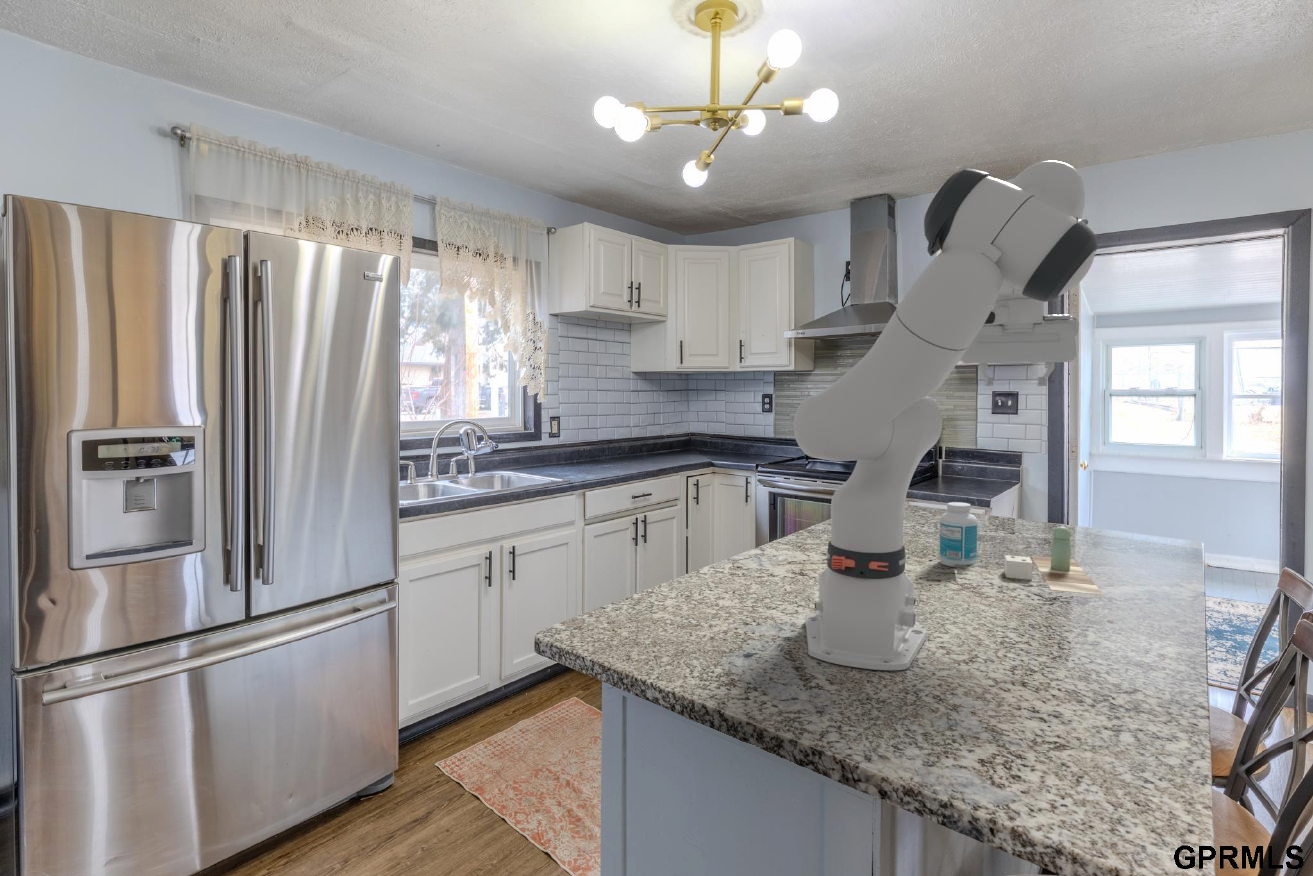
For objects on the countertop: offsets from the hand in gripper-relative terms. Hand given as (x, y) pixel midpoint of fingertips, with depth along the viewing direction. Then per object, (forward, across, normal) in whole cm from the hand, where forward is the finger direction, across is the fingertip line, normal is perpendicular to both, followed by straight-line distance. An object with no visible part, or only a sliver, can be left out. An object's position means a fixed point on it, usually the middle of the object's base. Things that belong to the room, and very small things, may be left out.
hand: (1015, 386), depth 132 cm
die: (+39, -2, +1) cm, 39 cm away
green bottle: (+38, -10, -7) cm, 40 cm away
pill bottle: (+39, +9, -7) cm, 41 cm away
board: (+39, -10, -3) cm, 41 cm away
